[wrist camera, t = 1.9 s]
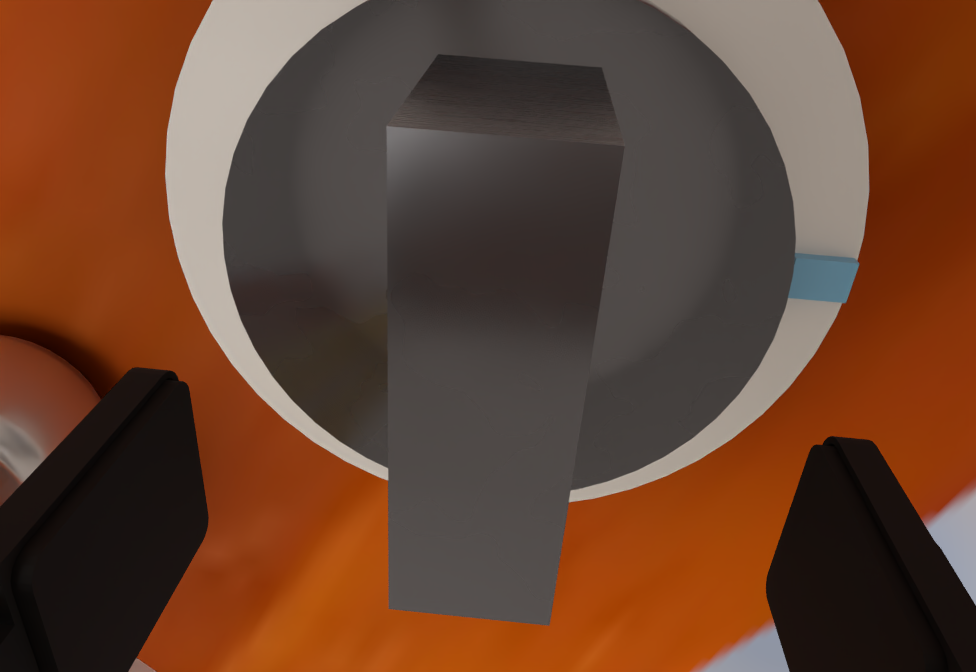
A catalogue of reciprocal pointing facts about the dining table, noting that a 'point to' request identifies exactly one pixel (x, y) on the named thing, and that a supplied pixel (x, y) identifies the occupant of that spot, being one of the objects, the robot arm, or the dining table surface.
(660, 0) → the dial housing
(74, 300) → the dining table surface
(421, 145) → the dial knob
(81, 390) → the plastic bottle
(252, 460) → the dining table surface
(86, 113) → the dining table surface
